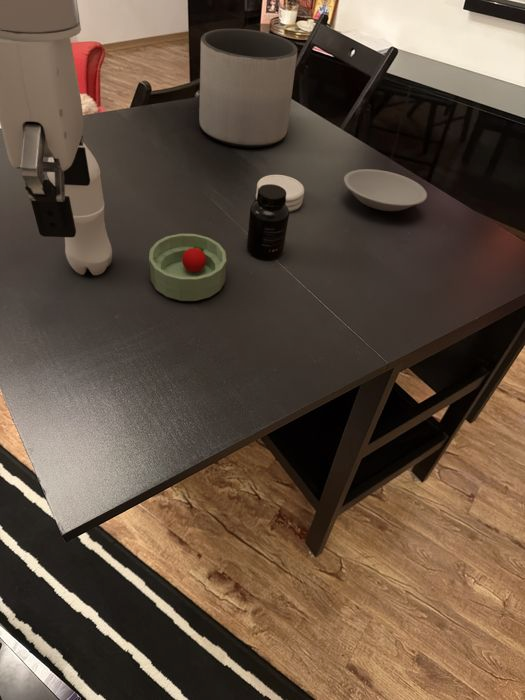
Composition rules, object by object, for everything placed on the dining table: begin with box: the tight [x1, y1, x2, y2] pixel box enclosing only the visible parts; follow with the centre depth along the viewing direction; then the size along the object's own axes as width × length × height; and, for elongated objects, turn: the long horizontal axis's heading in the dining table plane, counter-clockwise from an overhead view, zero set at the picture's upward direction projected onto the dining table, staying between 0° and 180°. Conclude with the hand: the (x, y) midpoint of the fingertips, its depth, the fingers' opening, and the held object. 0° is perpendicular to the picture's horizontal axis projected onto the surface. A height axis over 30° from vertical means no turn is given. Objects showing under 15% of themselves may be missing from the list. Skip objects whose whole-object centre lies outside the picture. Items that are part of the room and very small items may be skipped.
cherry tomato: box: [182, 246, 206, 272], centre depth 80 cm, size 4×4×4 cm
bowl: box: [148, 233, 227, 302], centre depth 79 cm, size 12×12×5 cm
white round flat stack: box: [255, 174, 305, 213], centre depth 100 cm, size 10×10×4 cm
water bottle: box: [46, 141, 113, 276], centre depth 71 cm, size 7×7×25 cm
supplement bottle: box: [246, 184, 290, 261], centre depth 84 cm, size 7×7×12 cm
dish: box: [343, 168, 428, 212], centre depth 102 cm, size 18×14×5 cm
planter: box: [198, 28, 298, 149], centre depth 116 cm, size 23×23×20 cm
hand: (67, 207), depth 48 cm, fingers open, 9 cm apart
